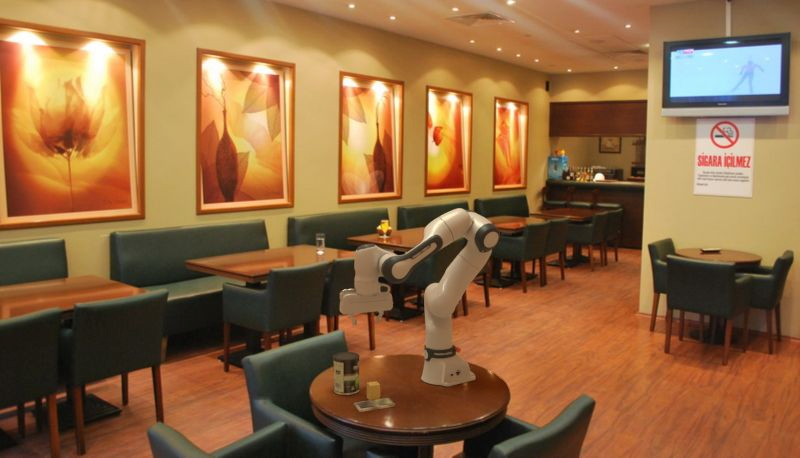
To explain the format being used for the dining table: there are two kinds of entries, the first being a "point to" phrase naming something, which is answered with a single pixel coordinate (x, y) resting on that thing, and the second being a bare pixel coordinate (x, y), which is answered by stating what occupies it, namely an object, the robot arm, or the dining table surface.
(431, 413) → the dining table surface
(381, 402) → the banknote
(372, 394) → the yellow rectangular block
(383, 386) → the dining table surface
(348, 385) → the coffee can
